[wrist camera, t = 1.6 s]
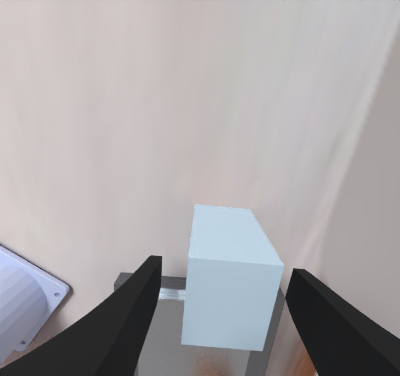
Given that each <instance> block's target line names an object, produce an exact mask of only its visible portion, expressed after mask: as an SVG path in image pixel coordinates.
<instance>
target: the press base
mask: <svg viewBox="0 0 400 376" xmlns="http://www.w3.org/2000/svg"><path fill="white" fill-rule="evenodd" d="M132 274H133V273H120V275H119V276H118V278H117V280H116V281H115V283H114V292H115V291H116V290H117V289H118V288H119V287H120V286H121V285H122V284H123V283H124V282H125V281H126V280H127V279H128V278H129V277H130V276H131V275H132ZM185 290H186V278H178V277H167V276H161V289H160V293H159V298H158V302H157V306H156V309H155V312H154V315H153V318H152V321H151V324H150V327H149V330H148V333H147V336H146V339H145V342H144V345H143V348H142V350H141V353H140V356H139V360H138V363H137V366H136V370H135V373H134V376H264V374H265V371H266V367H267V363H268V360H269V356H270V352H271V349H272V345H273V342H274V338H275V334H276V331H277V327H278V323H279V320H280V316H281V313H282V309H283V305H284V302H285V297H284V295H283V293H282V291H281V289H280V287H279V289H278V293H277V297H276V300H275V304H274V308H273V312H272V316H271V320H270V324H269V327H268V331H267V335H266V339H265V343H264V347H263V351H254V350H242V349H230V348H219V347H207V346H195V345H183V344H181V339H182V327H183V315H184V303H185Z"/></svg>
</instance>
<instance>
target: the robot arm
mask: <svg viewBox="0 0 400 376" xmlns="http://www.w3.org/2000/svg"><path fill="white" fill-rule="evenodd" d="M161 273H162V256H153V255H151V256H150V257H148V259H147V260H146V261H145V262H144V263H143V264H142V265H141V266H140V267H139V268H138V269H137V270H136V271H135V272H134V273H133V274H132V275H131V276H130V277H129V278H128V279H127V280H126V281H125V282H124V283H123V284H122V285H121V286H120V287H119V288H118V289H117V290H116V291H115V292H113V293H112V294H111V295H110V296H109V297H108V298H107V299H105V300H104V301H103V302H102V303H101V304H99V305H98V306H97V307H96V308H94V309H93V310H92V311H90V312H89V313H88V314H87V315H85V316H84V317H82V318H81V319H80V320H78V321H77V322H75V323H74V324H73V325H71V326H70V327H68V328H67V329H65V330H64V331H63V332H61V333H60V334H58V335H57V336H55V337H53V338H52V339H50V340H49V341H47V342H46V343H44V344H42V345H41V346H39V347H38V348H36V349H34V350H33V351H31V352H29V353H28V354H26V355H24V356H23V357H21V358H19V359H17V360H16V361H14V362H12V363H10V364H8V365H7V366H5V367H3V368H1V369H0V376H134V373H135V370H136V366H137V363H138V360H139V356H140V353H141V350H142V348H143V345H144V342H145V339H146V336H147V333H148V330H149V327H150V324H151V321H152V318H153V315H154V312H155V309H156V306H157V302H158V298H159V293H160V289H161ZM69 290H70V289H69V286H68V285H67V284H65V283H63V282H62V281H60V280H58V279H57V278H55V277H53V276H51V275H50V274H48V273H46V272H45V271H43V270H41V269H40V268H38V267H36V266H34V265H33V264H31V263H29V262H28V261H26V260H24V259H23V258H21V257H19V256H17V255H16V254H14V253H12V252H11V251H9V250H7V249H5V248H4V247H2V246H0V365H1V364H2V363H3V362H4V361H5V360H6V359H7V357H8V356H9V355H10V354H11V353H12V352H13V351H14V350H15V351H17V352H22V351H24V349H25V348H26V347H27V346H28V344H29V343H30V342H31V340H32V339H33V338H34V337H35V335H36V334H37V333H38V331H39V330H40V329H41V327H42V326H43V325H44V323H45V322H46V321H47V319H48V318H49V317H50V316H51V314H52V313H53V312H54V310H55V309H56V308H57V306H58V305H59V304H60V302H61V301H62V300H63V298H64V297H65V296H66V294H67V293H68V292H69ZM285 299H286V302H287V305H288V308H289V311H290V314H291V317H292V319H293V322H294V324H295V326H296V328H297V330H298V332H299V335H300V337H301V339H302V341H303V343H304V345H305V347H306V349H307V352H308V354H309V356H310V358H311V360H312V362H313V364H314V366H315V369H316V371H317V373H318V375H319V376H400V339H399V338H397V337H396V336H394V335H393V334H391V333H390V332H388V331H387V330H385V329H384V328H382V327H381V326H380V325H378V324H376V323H375V322H374V321H372V320H371V319H370V318H368V317H367V316H366V315H364V314H363V313H361V312H360V311H359V310H357V309H356V308H354V307H353V306H352V305H351V304H349V303H348V302H347V301H345V300H344V299H342V298H341V297H340V296H339V295H337V294H336V293H335V292H334V291H332V290H331V289H330V288H329V287H327V286H326V285H325V284H324V283H322V282H321V281H320V280H318V279H317V278H316V277H315V276H313V275H312V274H311V273H309V272H308V271H306V270H305V269H295V268H293V272H292V276H291V279H290V283H289V286H288V290H287V294H286V297H285Z"/></svg>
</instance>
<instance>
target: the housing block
mask: <svg viewBox="0 0 400 376" xmlns="http://www.w3.org/2000/svg"><path fill="white" fill-rule="evenodd" d="M283 270H284V264H283V263H282V261H281V259H280V258H279V256H278V255H277V253H276V251H275V250H274V248H273V246H272V245H271V243H270V241H269V240H268V238H267V236H266V235H265V233H264V232H263V230H262V228H261V227H260V225H259V223H258V222H257V220H256V218H255V217H254V215H253V213H252V212H251V210H250V209H240V208H229V207H218V206H207V205H196V204H195V208H194V216H193V223H192V231H191V239H190V247H189V255H188V266H187V278H186V290H185V303H184V315H183V327H182V339H181V344H183V345H195V346H207V347H219V348H230V349H242V350H254V351H263V347H264V343H265V339H266V335H267V331H268V327H269V324H270V320H271V316H272V312H273V308H274V304H275V300H276V297H277V293H278V289H279V285H280V281H281V277H282V273H283Z"/></svg>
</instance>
